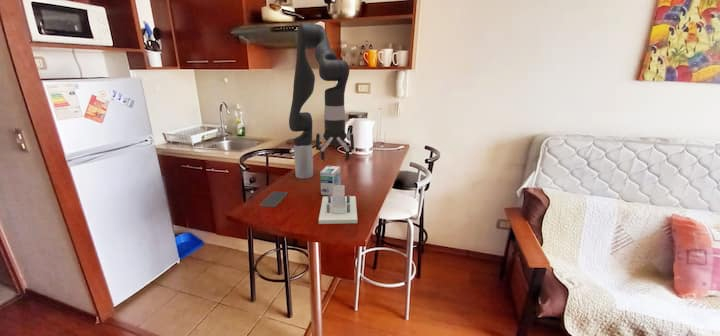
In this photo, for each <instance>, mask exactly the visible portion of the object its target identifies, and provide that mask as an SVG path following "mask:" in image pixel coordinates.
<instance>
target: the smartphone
mask: <svg viewBox="0 0 720 336" xmlns="http://www.w3.org/2000/svg"><path fill="white" fill-rule="evenodd" d="M287 195H288V192H287V191H272V192H271V193H270V194H269V195H268V196H267V197H266V198H264V199H263V201H262V202H261V203H259V205H258V206H259V207H263V206H264V207H265V208H266V207H267V208H276V207H277V206H279V204H280V203H281V202H282V201H283V200H284V199H285V198H286V197H287Z"/></svg>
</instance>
